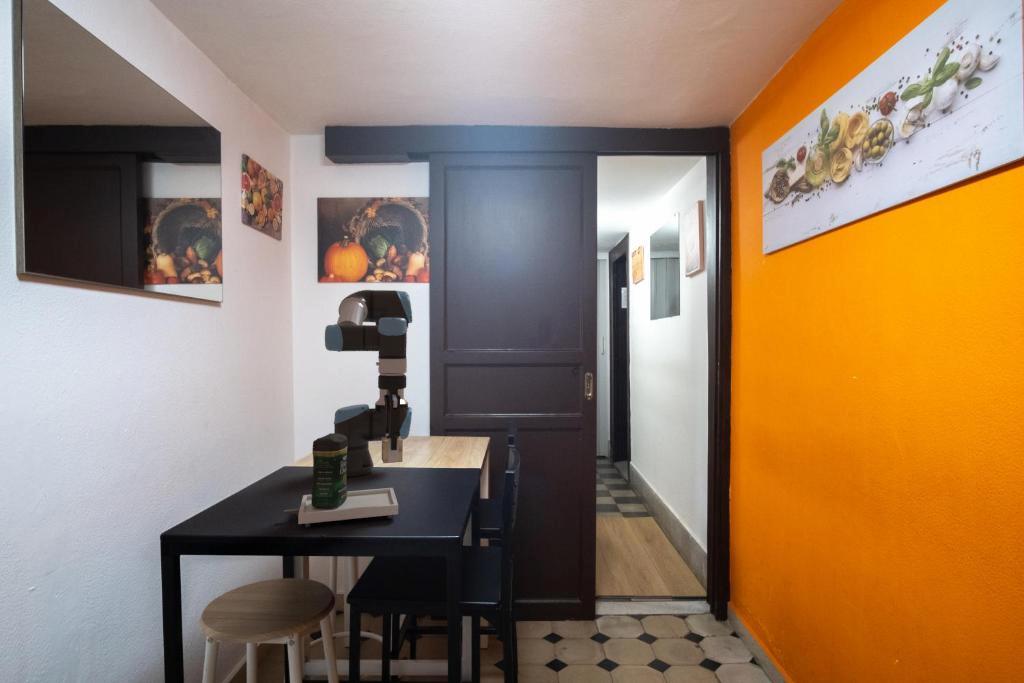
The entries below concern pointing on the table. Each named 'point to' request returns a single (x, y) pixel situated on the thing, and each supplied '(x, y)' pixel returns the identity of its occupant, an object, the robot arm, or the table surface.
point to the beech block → (385, 450)
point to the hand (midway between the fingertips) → (391, 459)
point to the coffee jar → (329, 471)
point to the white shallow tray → (349, 507)
